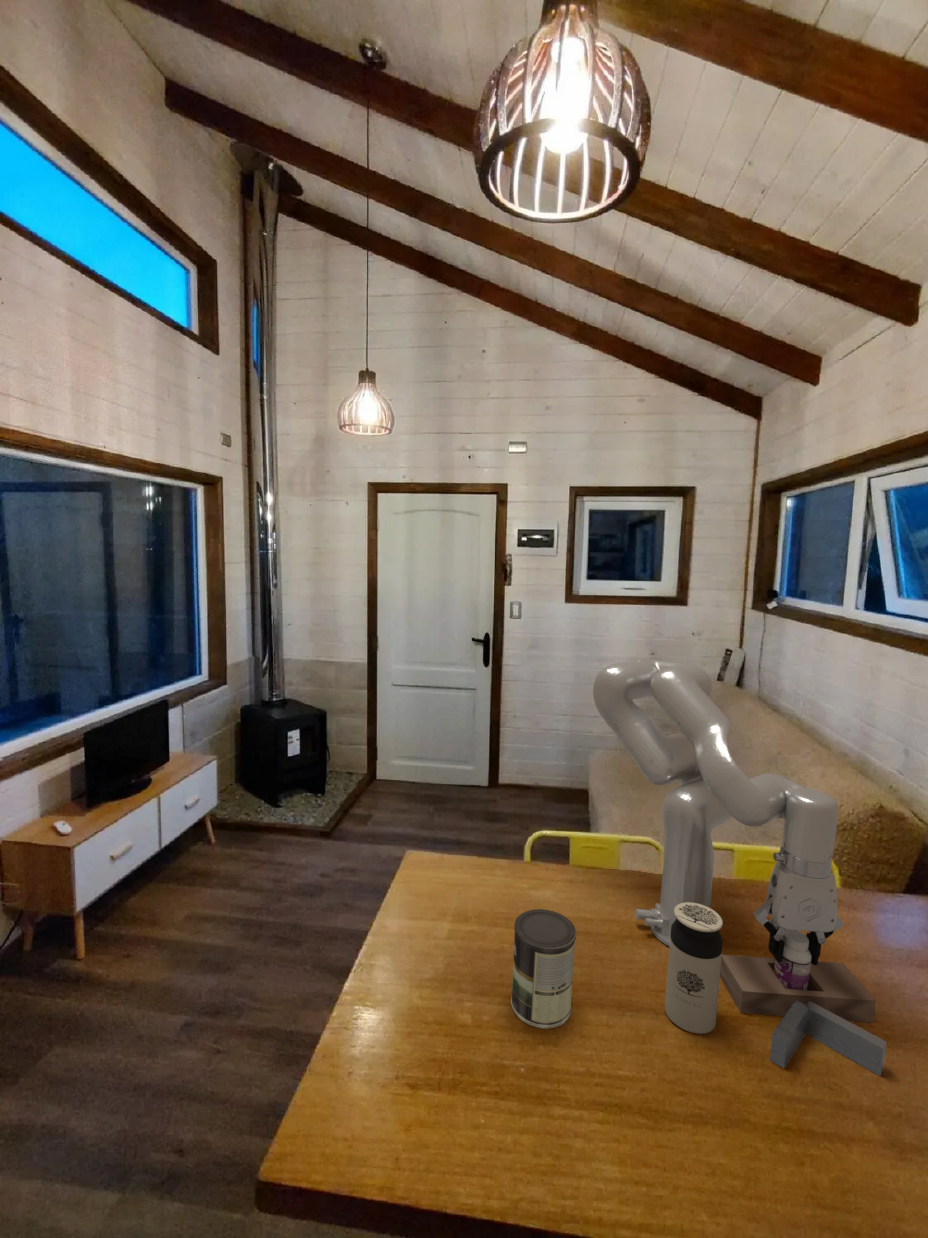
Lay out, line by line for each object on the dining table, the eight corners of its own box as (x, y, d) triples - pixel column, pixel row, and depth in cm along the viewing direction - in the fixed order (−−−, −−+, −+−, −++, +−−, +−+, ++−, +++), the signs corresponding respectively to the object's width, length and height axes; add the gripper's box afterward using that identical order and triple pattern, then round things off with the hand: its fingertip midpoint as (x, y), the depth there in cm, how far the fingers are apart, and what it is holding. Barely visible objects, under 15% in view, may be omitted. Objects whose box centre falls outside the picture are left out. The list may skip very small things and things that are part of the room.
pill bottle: (765, 975, 103) (771, 926, 102) (793, 974, 104) (799, 925, 103) (785, 998, 98) (791, 946, 97) (814, 997, 98) (820, 946, 97)
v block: (774, 1068, 86) (777, 1041, 85) (748, 1021, 95) (750, 996, 94) (889, 1077, 85) (893, 1049, 85) (852, 1029, 94) (855, 1004, 93)
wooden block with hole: (740, 1013, 96) (742, 991, 96) (719, 975, 105) (721, 955, 105) (873, 1022, 95) (876, 1000, 95) (840, 983, 104) (843, 963, 104)
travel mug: (677, 991, 101) (685, 895, 99) (723, 1017, 95) (732, 916, 94) (656, 1014, 95) (664, 913, 94) (703, 1044, 90) (712, 937, 88)
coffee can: (501, 1014, 94) (505, 935, 93) (522, 975, 103) (526, 902, 102) (561, 1039, 90) (566, 956, 88) (578, 996, 99) (583, 920, 98)
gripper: (765, 869, 95) (753, 969, 97) (870, 877, 94) (856, 978, 96) (745, 847, 102) (734, 940, 104) (842, 854, 101) (830, 948, 104)
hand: (793, 957), depth 100 cm, fingers closed on pill bottle, 5 cm apart
